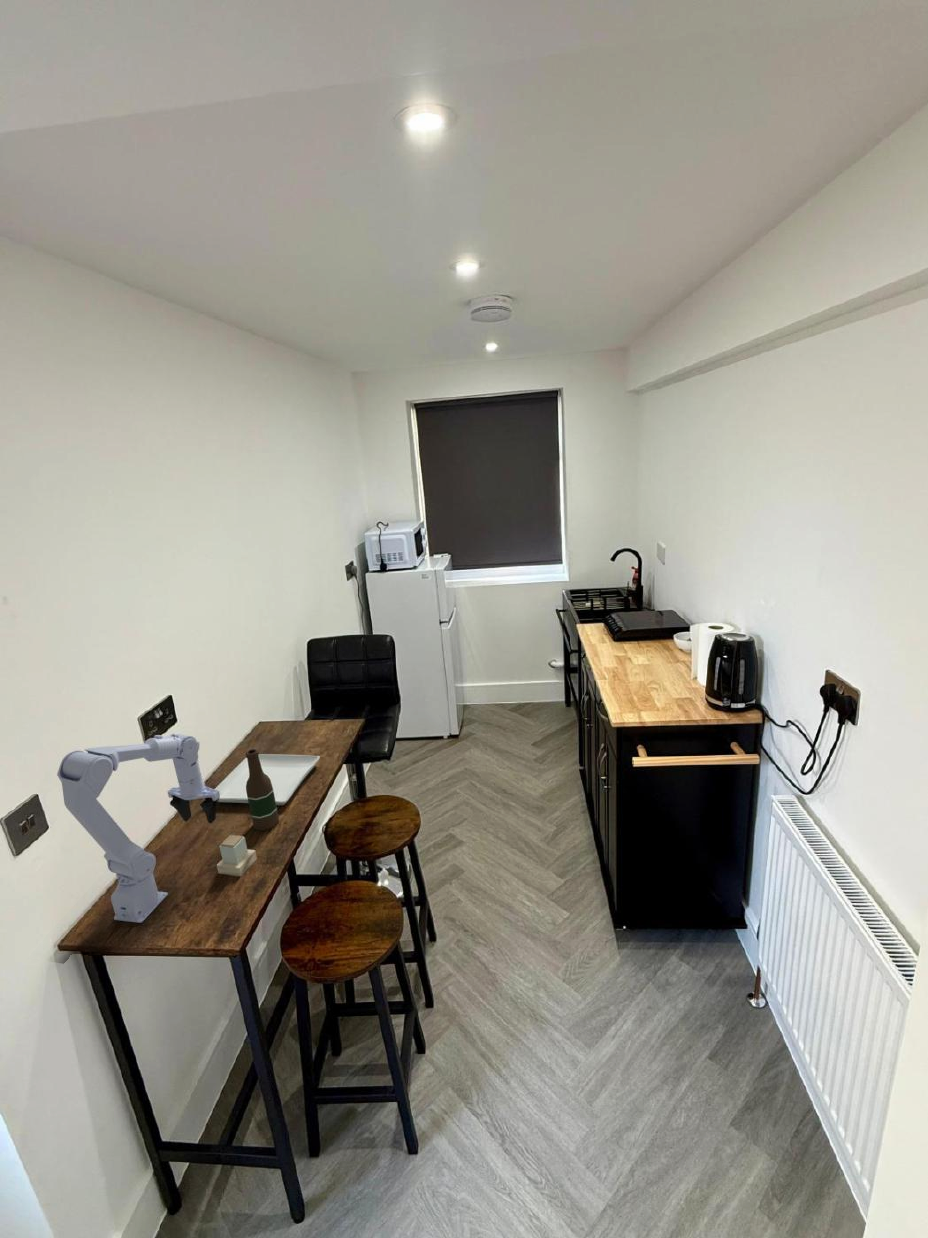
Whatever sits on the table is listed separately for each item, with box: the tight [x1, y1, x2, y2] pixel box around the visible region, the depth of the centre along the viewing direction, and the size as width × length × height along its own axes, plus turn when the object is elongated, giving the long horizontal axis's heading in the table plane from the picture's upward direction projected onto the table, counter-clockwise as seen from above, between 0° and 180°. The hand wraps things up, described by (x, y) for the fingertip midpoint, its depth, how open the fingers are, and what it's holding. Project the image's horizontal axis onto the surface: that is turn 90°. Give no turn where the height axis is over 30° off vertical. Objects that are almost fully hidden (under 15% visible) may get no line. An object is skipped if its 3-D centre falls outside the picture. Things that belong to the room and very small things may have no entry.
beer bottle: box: [245, 748, 280, 832], centre depth 171 cm, size 8×8×24 cm
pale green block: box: [219, 834, 249, 864], centre depth 155 cm, size 4×4×6 cm
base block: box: [216, 848, 258, 877], centre depth 157 cm, size 7×7×3 cm
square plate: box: [214, 753, 321, 806], centre depth 195 cm, size 27×27×4 cm
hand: (200, 820), depth 160 cm, fingers open, 7 cm apart
